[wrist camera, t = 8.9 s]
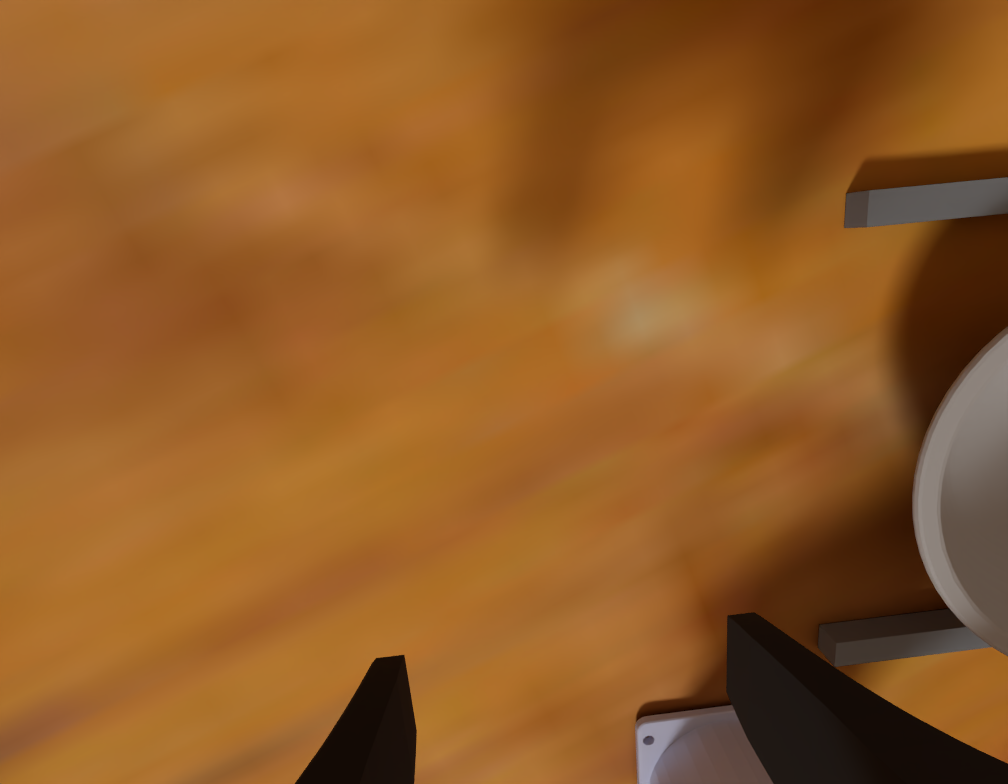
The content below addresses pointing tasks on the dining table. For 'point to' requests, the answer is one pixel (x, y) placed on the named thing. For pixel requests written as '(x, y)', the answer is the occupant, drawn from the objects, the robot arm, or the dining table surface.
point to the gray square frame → (939, 626)
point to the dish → (969, 495)
